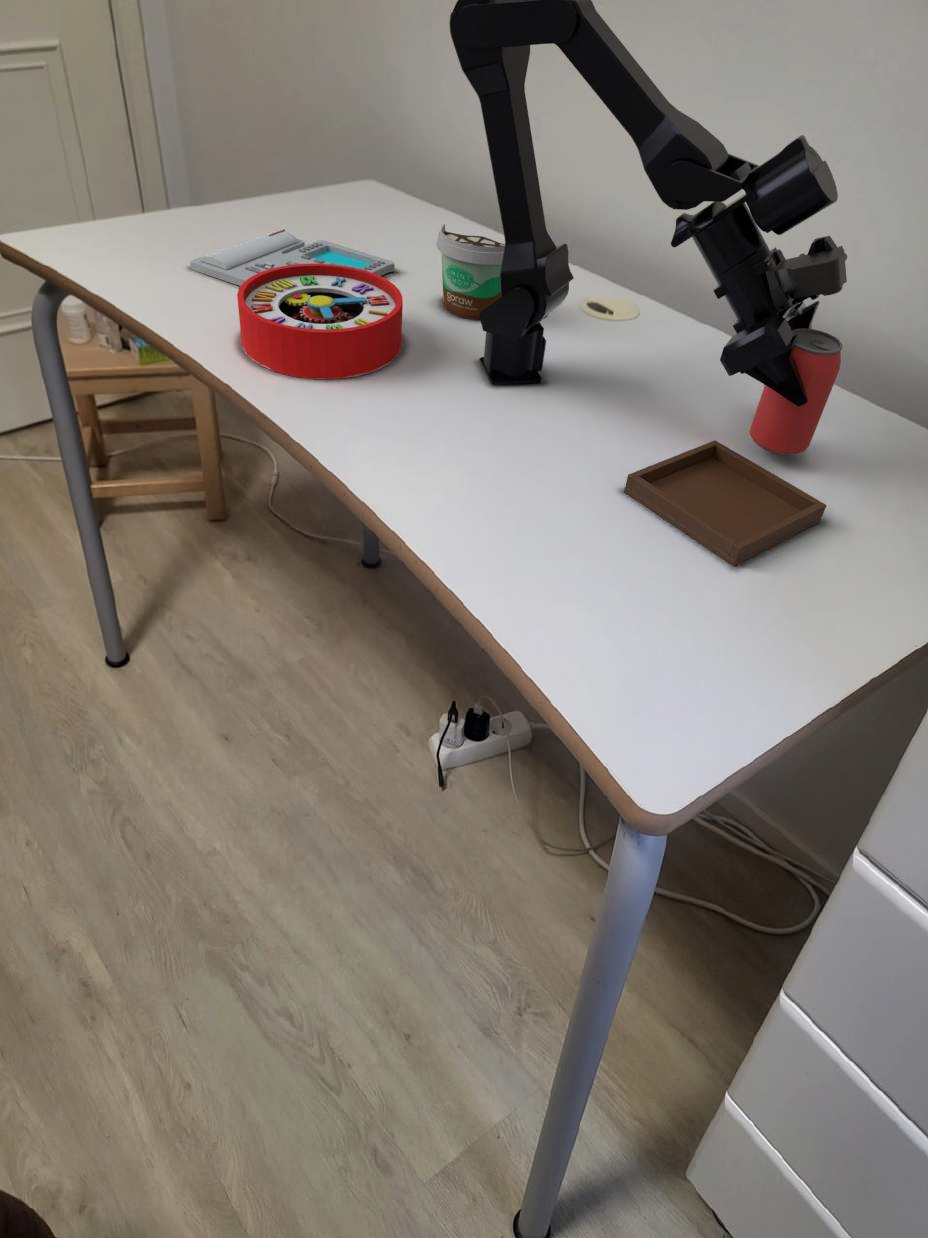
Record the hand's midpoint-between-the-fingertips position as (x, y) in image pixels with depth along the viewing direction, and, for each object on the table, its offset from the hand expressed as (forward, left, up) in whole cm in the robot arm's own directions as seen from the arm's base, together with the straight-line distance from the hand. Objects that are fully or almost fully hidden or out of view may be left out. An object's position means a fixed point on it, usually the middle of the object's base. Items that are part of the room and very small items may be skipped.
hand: (810, 391), depth 93 cm
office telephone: (-49, +57, -8) cm, 76 cm away
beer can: (-1, +1, -7) cm, 7 cm away
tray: (-12, -8, -8) cm, 17 cm away
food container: (-27, +41, -8) cm, 50 cm away
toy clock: (-48, +33, -8) cm, 59 cm away
